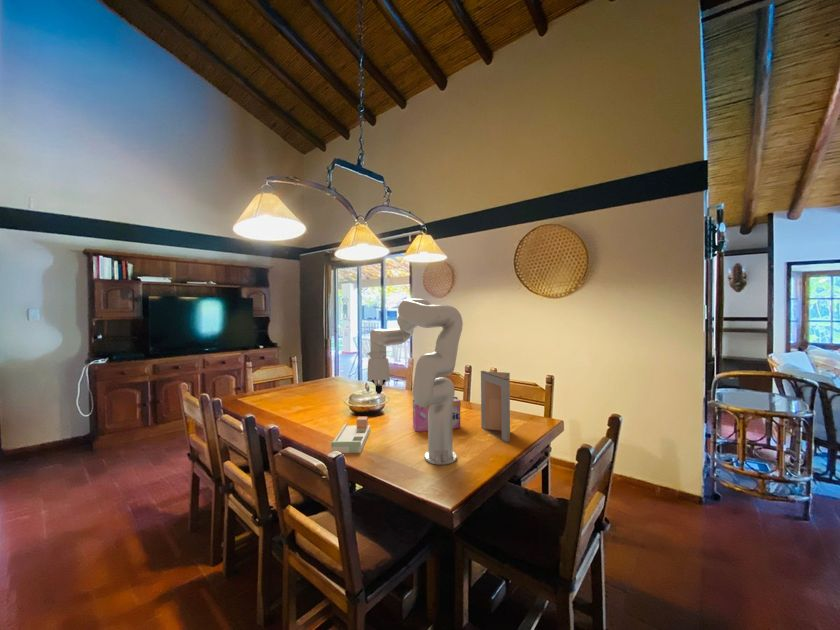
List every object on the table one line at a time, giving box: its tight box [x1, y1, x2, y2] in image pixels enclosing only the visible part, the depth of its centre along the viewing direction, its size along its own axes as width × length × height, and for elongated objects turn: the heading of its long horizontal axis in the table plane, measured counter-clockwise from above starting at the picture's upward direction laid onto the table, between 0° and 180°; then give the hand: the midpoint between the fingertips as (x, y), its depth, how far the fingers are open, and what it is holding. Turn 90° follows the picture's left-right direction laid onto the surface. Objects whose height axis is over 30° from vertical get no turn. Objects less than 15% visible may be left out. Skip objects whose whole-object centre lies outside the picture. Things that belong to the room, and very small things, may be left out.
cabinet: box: [480, 370, 511, 444], centre depth 162 cm, size 21×10×28 cm, turn 21°
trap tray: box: [330, 422, 371, 454], centre depth 156 cm, size 26×12×4 cm, turn 0°
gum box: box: [412, 396, 461, 432], centre depth 172 cm, size 24×8×14 cm, turn 101°
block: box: [356, 416, 369, 429], centre depth 166 cm, size 4×4×4 cm
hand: (378, 393), depth 165 cm, fingers closed
